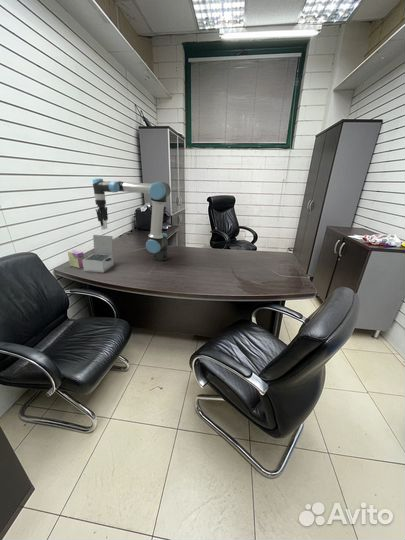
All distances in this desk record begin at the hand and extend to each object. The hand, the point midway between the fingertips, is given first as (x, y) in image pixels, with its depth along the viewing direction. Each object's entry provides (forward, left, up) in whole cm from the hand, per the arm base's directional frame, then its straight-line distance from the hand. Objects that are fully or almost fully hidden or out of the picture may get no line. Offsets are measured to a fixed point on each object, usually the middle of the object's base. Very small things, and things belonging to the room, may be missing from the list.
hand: (104, 228), depth 182 cm
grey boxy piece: (-4, +21, -27) cm, 34 cm away
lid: (-4, +12, -10) cm, 16 cm away
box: (+15, +20, -27) cm, 37 cm away
